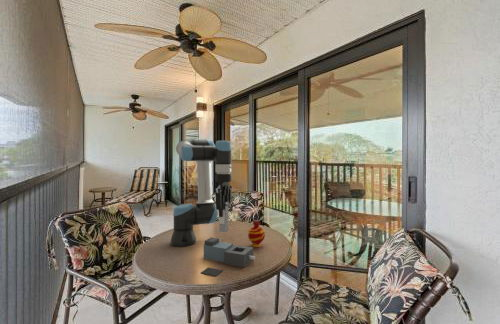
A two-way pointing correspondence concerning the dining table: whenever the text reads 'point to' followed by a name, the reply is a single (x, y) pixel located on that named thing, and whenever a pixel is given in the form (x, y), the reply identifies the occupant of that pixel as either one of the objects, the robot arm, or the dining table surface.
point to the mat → (211, 271)
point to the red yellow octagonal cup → (256, 234)
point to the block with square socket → (227, 252)
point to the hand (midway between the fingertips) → (223, 222)
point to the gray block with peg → (225, 226)
